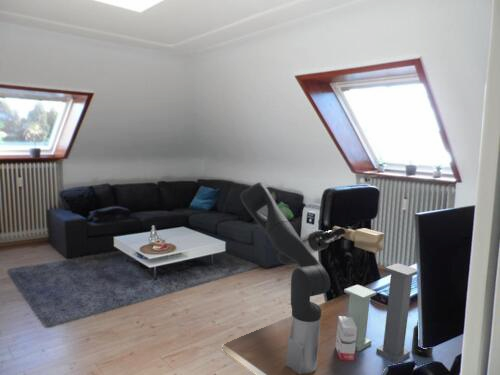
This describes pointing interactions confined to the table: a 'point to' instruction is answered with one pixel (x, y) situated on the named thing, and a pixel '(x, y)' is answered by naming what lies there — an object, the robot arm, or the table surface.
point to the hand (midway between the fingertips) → (347, 229)
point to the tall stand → (397, 312)
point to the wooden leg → (364, 238)
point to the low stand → (360, 312)
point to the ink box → (346, 338)
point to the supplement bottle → (416, 348)
